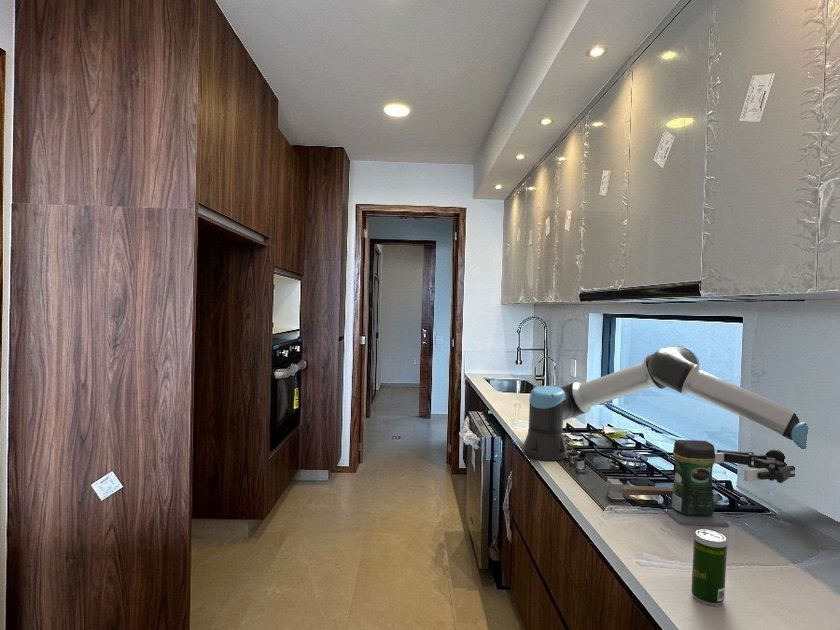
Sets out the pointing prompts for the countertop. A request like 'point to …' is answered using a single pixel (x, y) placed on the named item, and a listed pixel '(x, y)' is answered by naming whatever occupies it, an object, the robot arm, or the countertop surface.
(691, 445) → the coffee jar
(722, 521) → the slate end pad
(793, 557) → the countertop surface
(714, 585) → the beer can
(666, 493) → the walnut handrail
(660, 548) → the countertop surface
